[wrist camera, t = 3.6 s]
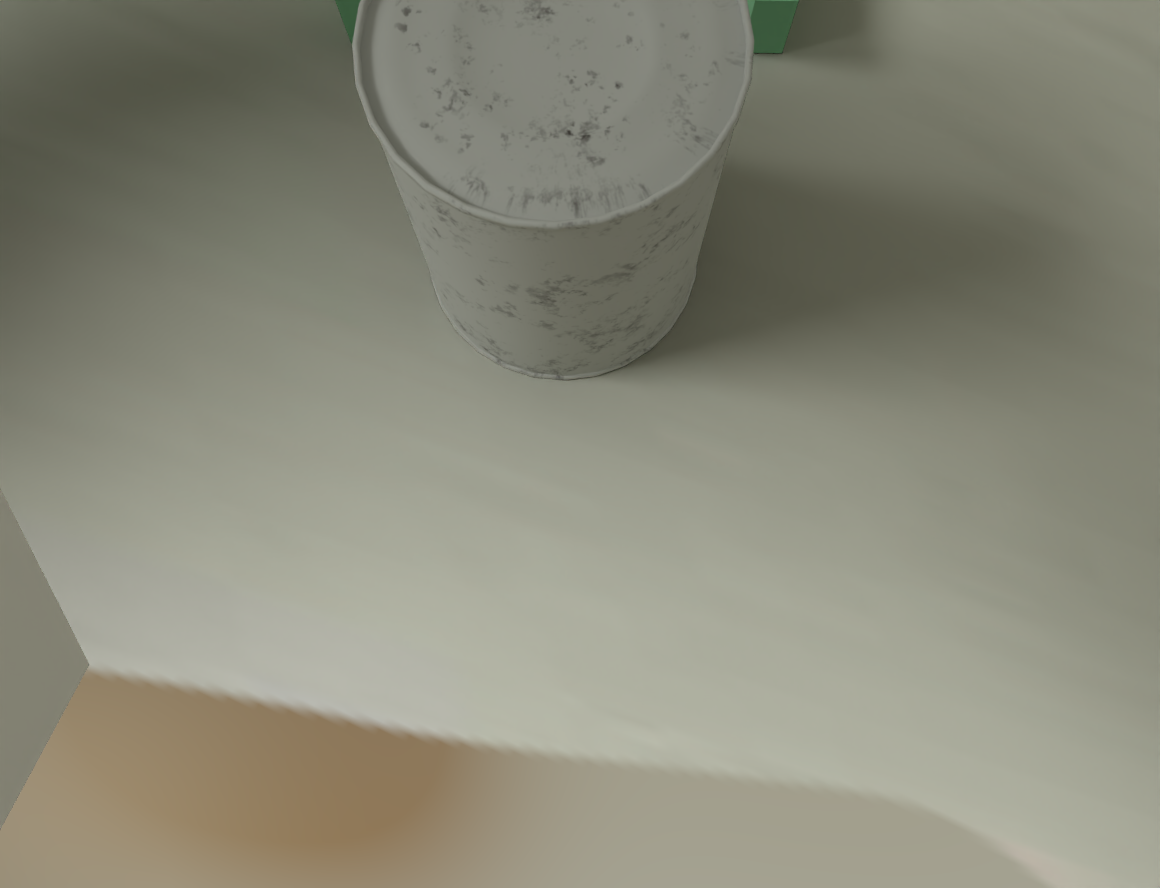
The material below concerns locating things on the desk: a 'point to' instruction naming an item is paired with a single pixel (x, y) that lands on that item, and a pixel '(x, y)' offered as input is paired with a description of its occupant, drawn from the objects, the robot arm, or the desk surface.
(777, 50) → the green angular frame
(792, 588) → the desk surface
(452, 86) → the speckled concrete drum
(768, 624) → the desk surface
